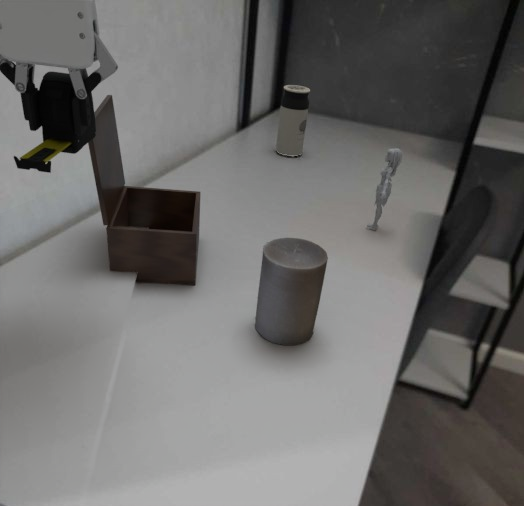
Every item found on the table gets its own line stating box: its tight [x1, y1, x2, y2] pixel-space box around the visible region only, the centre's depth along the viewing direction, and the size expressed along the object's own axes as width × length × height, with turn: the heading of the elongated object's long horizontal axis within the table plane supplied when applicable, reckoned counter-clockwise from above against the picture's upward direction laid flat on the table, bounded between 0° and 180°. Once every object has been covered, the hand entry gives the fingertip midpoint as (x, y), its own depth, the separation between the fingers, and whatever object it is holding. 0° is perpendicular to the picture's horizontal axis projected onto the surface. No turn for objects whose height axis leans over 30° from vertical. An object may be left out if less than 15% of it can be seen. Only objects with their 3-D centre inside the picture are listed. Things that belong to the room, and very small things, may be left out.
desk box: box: [105, 185, 201, 286], centre depth 95 cm, size 15×19×10 cm
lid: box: [87, 94, 126, 226], centre depth 86 cm, size 15×19×1 cm
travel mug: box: [275, 84, 311, 155], centre depth 151 cm, size 8×8×18 cm
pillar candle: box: [254, 237, 329, 346], centre depth 80 cm, size 10×10×15 cm
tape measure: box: [13, 71, 96, 174], centre depth 61 cm, size 15×4×8 cm, turn 175°
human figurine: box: [366, 147, 403, 231], centre depth 114 cm, size 12×4×18 cm, turn 163°
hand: (59, 128), depth 61 cm, fingers closed on tape measure, 4 cm apart
